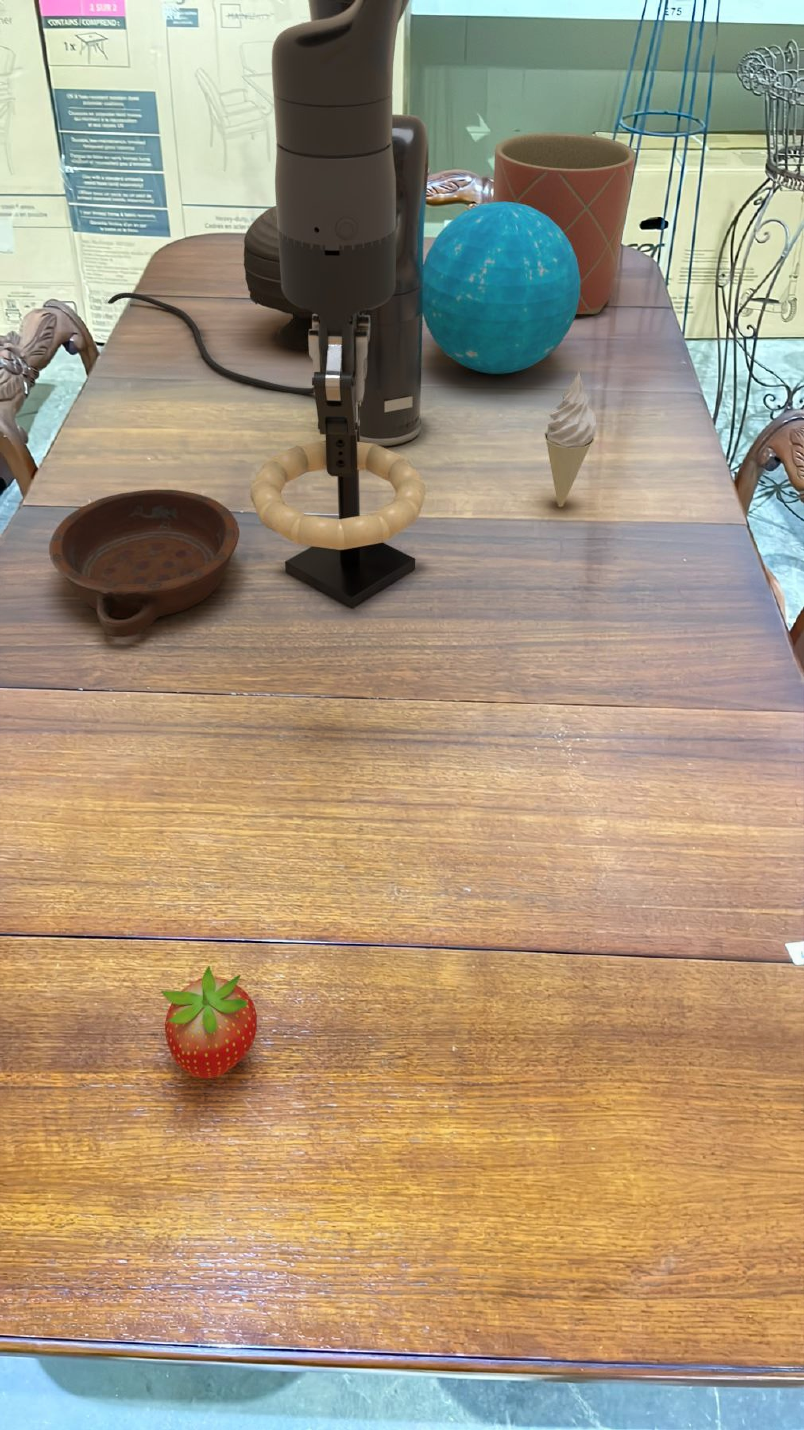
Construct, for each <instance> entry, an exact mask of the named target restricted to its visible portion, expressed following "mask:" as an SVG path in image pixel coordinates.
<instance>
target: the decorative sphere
mask: <svg viewBox="0 0 804 1430" xmlns="http://www.w3.org/2000/svg"><path fill="white" fill-rule="evenodd" d="M579 298H580V274H579V268H578V263H577V258H576V256H575V253H574V251H573V248H572V246H571V243H570V242H569V240H568V239H567V237H566V236H565V234H564V233H563V231H562V230H561V229H560V228H559V226H557V225H556V224H555V223H554V222H553V221H552V220H551V219H550V218H549V217H548V216H546V215H545V214H543V213H541V212H539V211H538V210H536V209H534V208H532V207H530V206H527V205H523V204H519V203H512V202H493V201H492V202H485V203H481V204H479V205H477V206H474V207H472V208H470V209H467V210H464V211H463V212H462V213H460V214H459V215H458V216H456V217H455V218H453V219H452V220H451V221H450V222H448V223H447V224H446V225H445V226H444V228H443V229H442V230H441V231H440V232H439V234H438V235H437V236H436V237H435V238H434V241H433V242H432V244H431V246H430V248H429V249H428V251H427V253H426V256H425V259H424V261H423V320H424V322H425V324H426V327H427V329H428V331H429V333H430V335H431V336H432V338H433V340H434V341H435V343H436V344H437V345H438V346H439V348H440V349H441V350H442V351H443V352H444V353H445V354H446V355H447V356H448V357H450V358H451V359H452V360H454V361H455V362H456V363H458V364H459V365H461V366H463V367H465V368H467V369H471V370H473V371H476V372H479V373H483V374H490V375H505V374H511V373H515V372H519V371H523V370H525V369H528V368H530V367H532V366H534V365H535V364H538V363H539V362H541V361H542V360H544V359H545V358H547V357H548V356H549V355H550V354H551V353H552V352H553V351H554V350H555V349H557V347H558V346H559V345H560V344H561V343H562V341H563V339H564V338H565V337H566V335H567V334H568V332H569V331H570V329H571V327H572V324H573V322H574V320H575V317H576V315H577V314H576V311H577V307H578V303H579Z"/></svg>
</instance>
